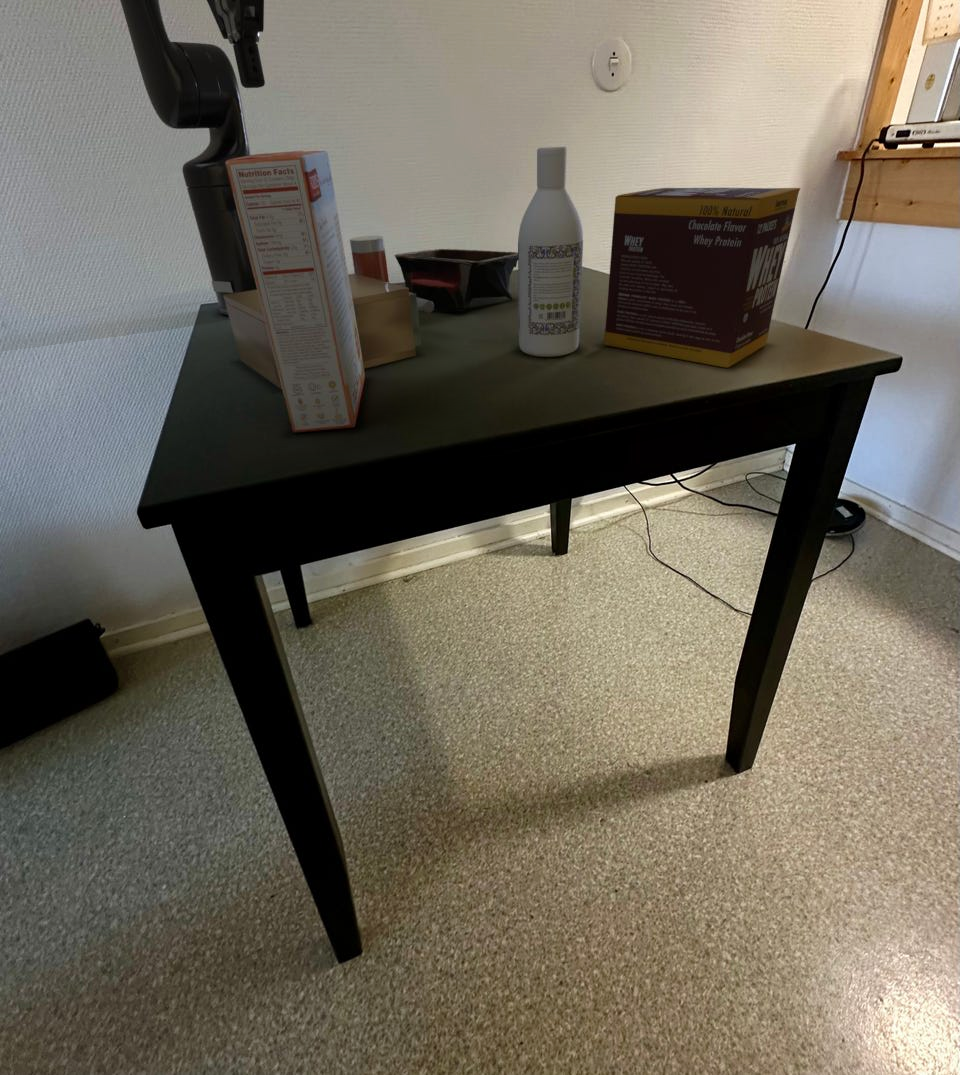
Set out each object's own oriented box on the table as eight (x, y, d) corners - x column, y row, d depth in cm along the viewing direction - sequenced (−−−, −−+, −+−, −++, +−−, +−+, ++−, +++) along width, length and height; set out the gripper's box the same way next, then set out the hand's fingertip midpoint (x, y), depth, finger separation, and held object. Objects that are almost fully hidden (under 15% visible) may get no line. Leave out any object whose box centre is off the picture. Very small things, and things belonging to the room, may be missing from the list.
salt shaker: (357, 324, 85) (343, 238, 79) (384, 319, 87) (373, 234, 81) (371, 330, 82) (358, 241, 76) (399, 324, 84) (389, 237, 78)
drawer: (400, 320, 82) (394, 275, 79) (450, 338, 74) (446, 287, 70) (259, 350, 73) (246, 300, 70) (298, 374, 64) (285, 318, 61)
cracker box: (311, 382, 65) (263, 152, 53) (367, 378, 65) (331, 148, 53) (287, 435, 53) (219, 155, 42) (356, 430, 53) (307, 150, 42)
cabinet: (363, 334, 81) (354, 273, 76) (416, 355, 71) (409, 287, 67) (240, 361, 73) (223, 294, 69) (281, 389, 63) (263, 314, 59)
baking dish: (458, 301, 103) (444, 238, 98) (539, 295, 91) (528, 223, 86) (396, 326, 95) (377, 259, 90) (476, 324, 83) (460, 246, 78)
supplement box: (730, 369, 62) (762, 196, 53) (602, 345, 71) (612, 194, 62) (769, 345, 68) (803, 186, 60) (647, 326, 77) (662, 186, 69)
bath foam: (590, 351, 69) (601, 144, 58) (538, 362, 67) (539, 148, 56) (558, 338, 75) (562, 146, 64) (508, 347, 72) (504, 149, 61)
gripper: (270, -160, 54) (309, 81, 64) (226, -113, 63) (266, 92, 73) (183, -177, 50) (238, 81, 60) (150, -124, 60) (202, 93, 69)
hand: (253, 87), depth 66 cm, fingers closed
